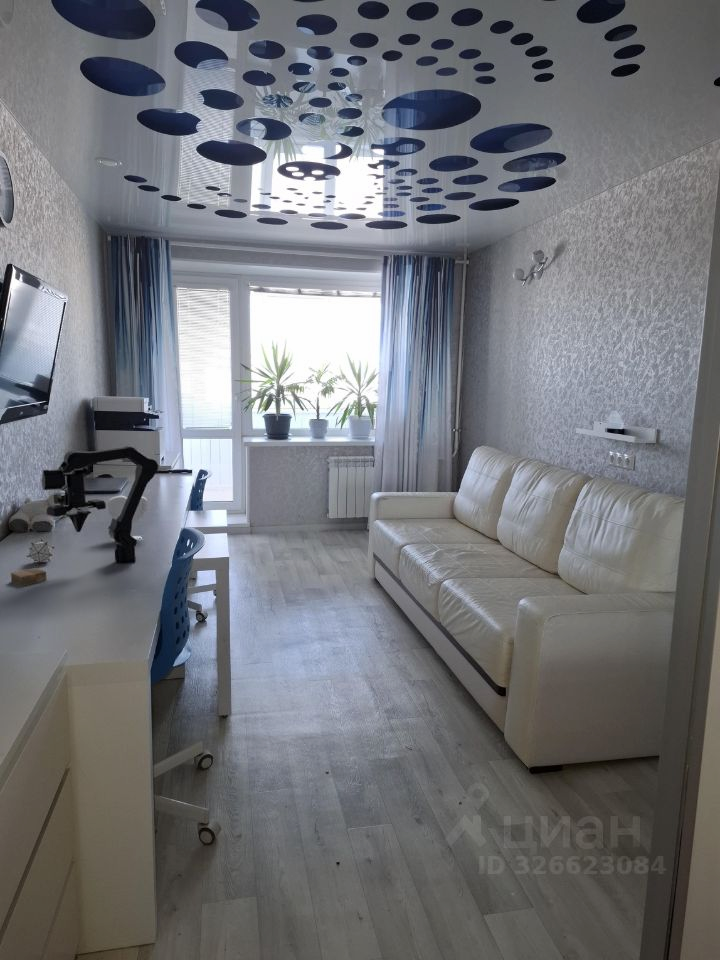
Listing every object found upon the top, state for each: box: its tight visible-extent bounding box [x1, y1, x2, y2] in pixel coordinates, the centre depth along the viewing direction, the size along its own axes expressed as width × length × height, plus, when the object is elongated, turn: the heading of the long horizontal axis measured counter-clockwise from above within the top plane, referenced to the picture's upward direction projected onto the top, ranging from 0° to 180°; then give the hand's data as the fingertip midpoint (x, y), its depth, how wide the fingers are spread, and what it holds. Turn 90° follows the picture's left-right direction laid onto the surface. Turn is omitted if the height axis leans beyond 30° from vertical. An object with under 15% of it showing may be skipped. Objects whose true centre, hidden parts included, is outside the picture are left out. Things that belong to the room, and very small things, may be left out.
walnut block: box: [10, 567, 47, 587], centre depth 211 cm, size 3×7×8 cm
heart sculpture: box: [106, 495, 148, 540], centre depth 267 cm, size 16×5×18 cm, turn 107°
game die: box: [26, 538, 55, 565], centre depth 231 cm, size 9×8×10 cm
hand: (78, 531), depth 224 cm, fingers closed
